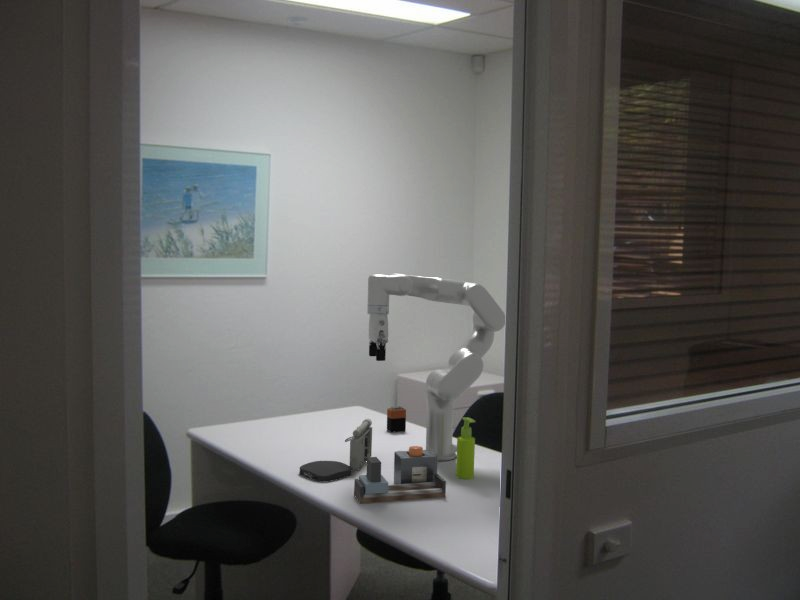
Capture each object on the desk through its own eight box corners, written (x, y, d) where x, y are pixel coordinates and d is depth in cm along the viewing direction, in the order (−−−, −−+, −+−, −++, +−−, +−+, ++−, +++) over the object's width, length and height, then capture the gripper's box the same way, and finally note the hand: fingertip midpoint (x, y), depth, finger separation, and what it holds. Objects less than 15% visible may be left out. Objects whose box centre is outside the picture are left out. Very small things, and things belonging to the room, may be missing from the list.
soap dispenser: (463, 480, 265) (465, 421, 263) (452, 475, 271) (454, 416, 269) (478, 478, 268) (480, 419, 266) (467, 472, 274) (469, 415, 272)
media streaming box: (356, 475, 269) (356, 466, 269) (322, 484, 259) (322, 475, 259) (328, 465, 279) (328, 457, 279) (294, 473, 269) (294, 465, 269)
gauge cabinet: (428, 479, 266) (429, 449, 265) (437, 487, 257) (437, 456, 257) (393, 481, 262) (394, 451, 261) (401, 489, 254) (401, 458, 253)
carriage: (380, 483, 251) (381, 455, 250) (388, 492, 242) (388, 463, 242) (358, 484, 249) (359, 456, 248) (365, 494, 240) (366, 464, 240)
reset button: (420, 458, 262) (420, 445, 262) (424, 462, 258) (424, 449, 258) (407, 459, 261) (407, 446, 261) (411, 462, 257) (411, 450, 256)
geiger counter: (361, 431, 271) (378, 415, 295) (343, 430, 272) (361, 413, 296) (360, 472, 272) (377, 452, 296) (342, 470, 273) (360, 451, 298)
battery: (405, 431, 328) (406, 407, 327) (390, 432, 325) (391, 408, 324) (401, 428, 332) (401, 404, 331) (386, 430, 329) (386, 406, 328)
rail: (437, 488, 256) (437, 473, 255) (445, 497, 248) (445, 481, 248) (354, 494, 248) (354, 479, 248) (360, 503, 241) (360, 487, 240)
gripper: (395, 312, 274) (394, 362, 275) (382, 307, 290) (380, 354, 292) (374, 312, 272) (372, 362, 273) (361, 307, 288) (360, 354, 290)
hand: (377, 358), depth 282 cm, fingers open, 9 cm apart
